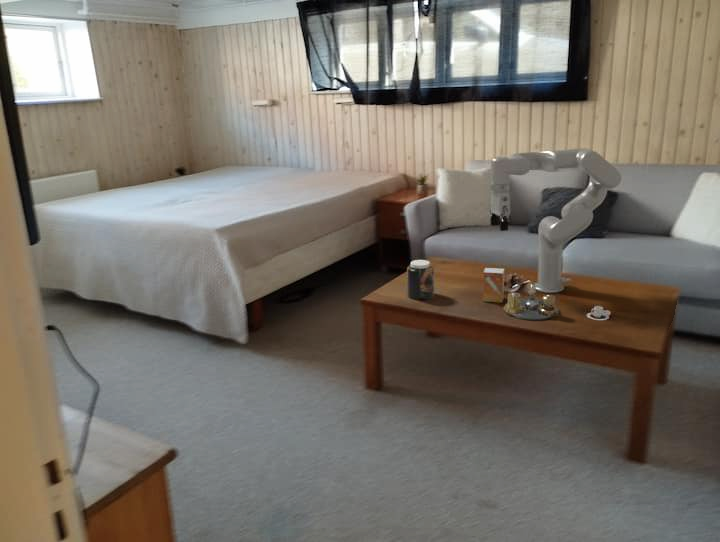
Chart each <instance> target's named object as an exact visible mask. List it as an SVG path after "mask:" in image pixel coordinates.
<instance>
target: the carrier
mask: <svg viewBox="0 0 720 542" xmlns="http://www.w3.org/2000/svg"><path fill="white" fill-rule="evenodd" d="M534 284H535V283H533V284H532V283H531V284H530V293H529V294H530V295H529V296H530V298H521V299H520V304H521V306H524V311H522V313H516V314H513V313H507V314H508V315H509V316H511V317H514V318H516V319H520V320H526V321H546V320H549V319H553V318H555V317H556V316H558V314H559V312H560V309H559V308H558V306H557V305H556V296H555V295H553V294H544V295H542V299H539V298H538V299H536V298H535V295H536V293H535V292H536V291H535V290H536V289H535V285H534ZM511 293H512V296H516V293H517V292H515V293H513V292H511ZM506 304H508V302H507V303H506Z"/></svg>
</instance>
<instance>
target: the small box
mask: <svg viewBox="0 0 720 542" xmlns="http://www.w3.org/2000/svg"><path fill="white" fill-rule="evenodd" d="M505 270H506V269H505V268H496V267H485V268H484V271H483V276H482V278H483V279H482V281H483V283H482V302H487V303H488V302H489V303H500V304H501V303H503V301H504V295H505V294H504V293H505V290H504V289H505Z"/></svg>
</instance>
